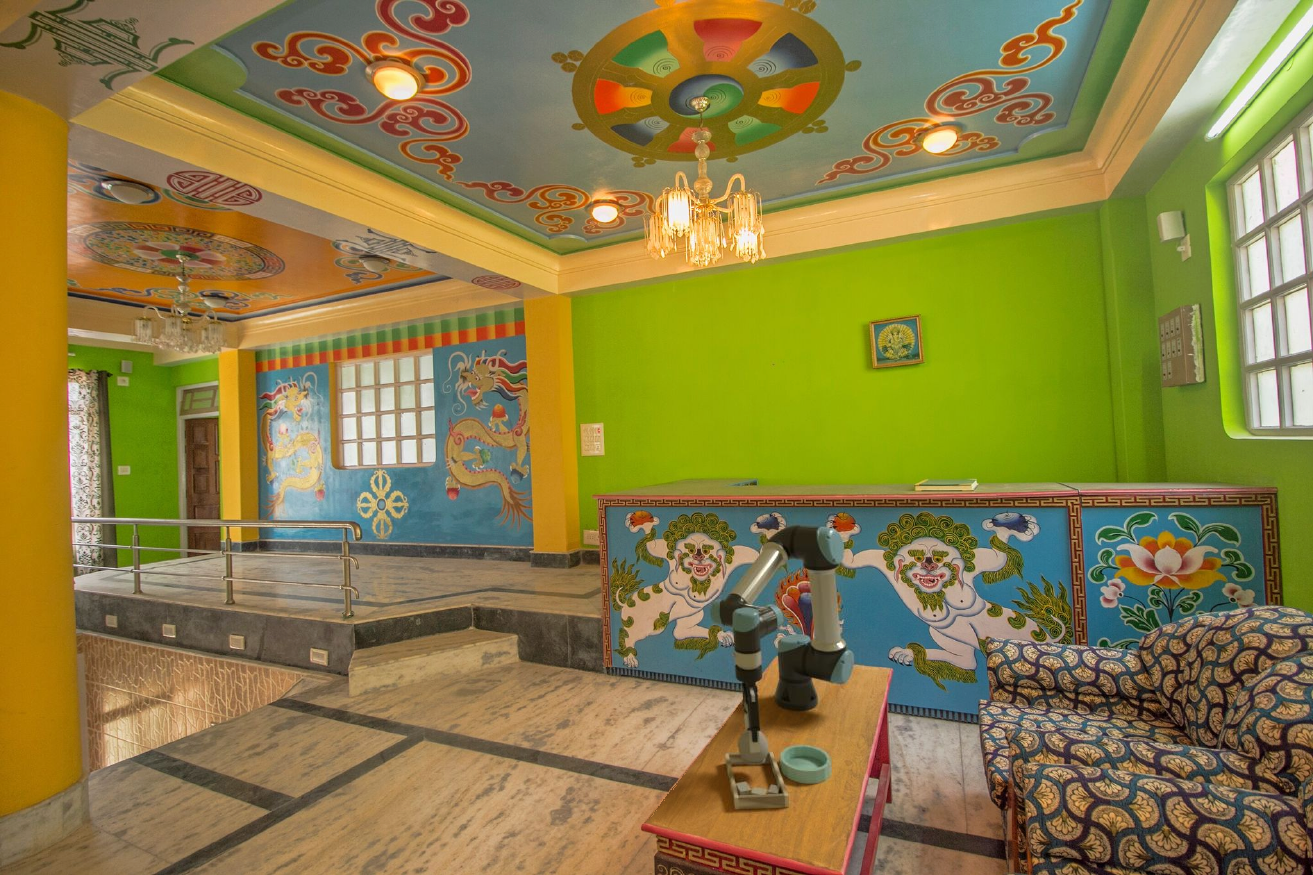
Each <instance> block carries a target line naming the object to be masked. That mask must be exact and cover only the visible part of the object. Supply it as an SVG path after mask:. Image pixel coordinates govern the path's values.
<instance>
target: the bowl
mask: <svg viewBox="0 0 1313 875" xmlns="http://www.w3.org/2000/svg"><path fill="white" fill-rule="evenodd" d="M779 763H780V764H779V766H780V768H779V769H780V770H781V771H780V772H781V774H783V776H784V777H786V778H787V779H789V780H792V781H793V782H796V783H801V784H807V785H811V784H820V783H823V782H825V781H827V780H828V779H829V778H830V777H831V775H832V759H831V757H830V755H829V752H826V751H825V750H823V749H822V748H819V747H816V746H815V745H814V746H813V745H808V744H796V745H791V746H787V747H786V748H783V750H782V751H781V752H780V755H779Z"/></svg>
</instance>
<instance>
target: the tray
mask: <svg viewBox="0 0 1313 875" xmlns="http://www.w3.org/2000/svg"><path fill="white" fill-rule="evenodd" d="M724 755H725V757H724V759H725V766H726V772H727V776H728V782H729V785H730V786H729V787H730V791H731V795H732V801H733V806H734V809H735V810H752V809H756V810H757V809H776V808H777V809H778V808H779V809H780V808H789V807H790V795H789V792H788V791H787V787H786V785H785V781H784V778H783V777H782V772H781V771H780V768H779V766H778V763H777V760H776V758H775V755H774V752H773V750H772V751H771V750H770V751H768V754H767V757H766V759H765V762H764V763H762V764H761V765H763V764H764V765H765V764H766V765H767V764H769V765H770V767H771V771H772V773H773V775H774V778H775V782H776V784H777V786H780V794H768V793H767V794H761V795H738V793H737V788H736V781H735V775H734V771H733V766H737V765H739V766H740V765H741V766H742V765H746V766H747V765H748V764H747V763H745V762H743V760H742V758H741V755H740V752H729V753H728V752H726V753H724Z"/></svg>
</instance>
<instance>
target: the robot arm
mask: <svg viewBox="0 0 1313 875" xmlns="http://www.w3.org/2000/svg"><path fill="white" fill-rule="evenodd" d="M761 550H762V551H761V553H760V554H759V556H757V558H756V559H755V560H754V562H753V563H752V564H751V566H750V567H749V568H748V569H747V570H746V572H745V573H744V575H743V576H742V577H741V579H740V580H739V581H738V583H737V584H736V585H735V586H734V587H733V589H732V590H731V591H730V593H729V594H728V595H727V597H726V598H724V599H723V598H721V599H720V598H719V599H715V600H714V601H713V602H711V605H710V609H709V617H710V618H711V621H712V622H713V623H714V624H716V625H717V624H718V625H721V626H723V627H729V628H732V632H733V634H732V635H733V649H734V653H732V657H733V658H734V662H735V666H734V667H735V668H734V669H735V670H734V672H735V679H736V680H737V681H738V682H741V690H742V707H743V712H744V715H743V717H744V731H745V730H747V731H749V742H750V753H757V752H760V741H759V731H760V732H761V725H760V724H761V723H760V713H759V711H760V710H759V695H758V693H759V692H758V686H757V682H760V681H761V680H762V679H763V669H762V668H763V665H762V663H763V662H762V660H763V659H762V649H761V647H762V646H761V639H762V638H764V637H765V636H767V635H770V634H772V633H774V632H776V631H777V630H778V629H780V628H781V627H782V626H783V624H784V614H783V611H782V610H781V608H780V607H779V606H777V605H775V604H771V603H770V604H764V605H763V606H758V605H753V603H754V602H756V601H755V600H757V598H758V597H759V595H760V594H761V593H762V591H763V590H764V589H765V587H766V586H767V584H768V583H769V582H770V580H771V579H772V578H773V577H774V575H775V573H776V572H777V571H778V569H779V568H780V567H781V566H785V565H786V564H787V563H788V561H790V560H801V561H802V563H803V564H802V566H803V569H805V571H807V572H808V578H809V590H810V598H811V599H810V600H811V610H812V621H813V630H814V631H813V633H814V638H813V639H812V640H811V637H810V635H807V634H798V633H796V634H789V635H786V636H783V637H780V638H779V639H778V641H777V650H776V651H777V662H778V663H777V666H778V682H777V686H776V688H775V692H774V702H775V704H776V705H778V706H780V707H781V708H784V709H787V710H792V711H808V710H812V709H814V708H816V707H817V705H818V704H819V698H818V696H819V695H818V693H817V690H816V688H815V684H814V682H813V679H815V680H818V681H823V682H827V683H830V684H836V685H840V686H841V685H845V684H846V683H848V681H849V680H850V678H851V676H852V674H853V670H854V667H855V666H854V665H855V656H854V653H853V650H850V649H847V642H846V641H845V639H843V638H842V636H841V626H840V625H841V624H840V616H839V604H838V595H837V594H838V593H837V582H836V572H835V571H836V570H837V569H838V568H839V567H840V566H839V564H840V563H841V562H843V559H844V557H845V556H844V553H845V544H844V540H843V537H842V536H841V534H840V532H838V531H837V529H834V528H832V527H826V526H810V525H809V526H808V525H800V524H794V525H789V526H786V527H784V528H782V529H780V530H779V531H776V532H775V533H774V534H772V536H770V537H769V538H768V539H767V540H766V541H765V543H764V544H763V546H762V547H761ZM747 699H748V700H747ZM744 702H746V703H747V707H748V717H749V728H748V718H747V711H746V709H745V706H744Z"/></svg>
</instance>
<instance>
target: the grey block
mask: <svg viewBox="0 0 1313 875" xmlns="http://www.w3.org/2000/svg"><path fill="white" fill-rule="evenodd" d="M735 784H736V788H737V793H738V795H752V789H751V787H750V785H749V783H748V782H747V781H742V782H735Z"/></svg>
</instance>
